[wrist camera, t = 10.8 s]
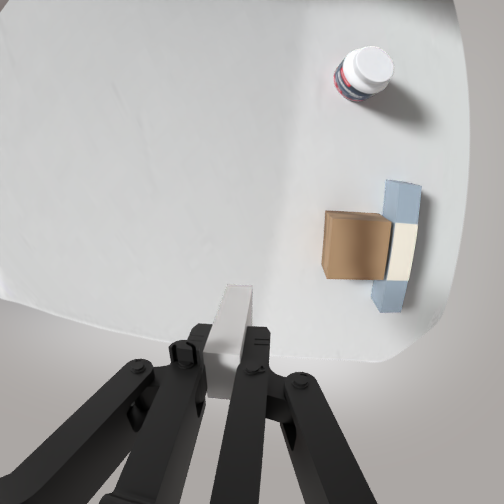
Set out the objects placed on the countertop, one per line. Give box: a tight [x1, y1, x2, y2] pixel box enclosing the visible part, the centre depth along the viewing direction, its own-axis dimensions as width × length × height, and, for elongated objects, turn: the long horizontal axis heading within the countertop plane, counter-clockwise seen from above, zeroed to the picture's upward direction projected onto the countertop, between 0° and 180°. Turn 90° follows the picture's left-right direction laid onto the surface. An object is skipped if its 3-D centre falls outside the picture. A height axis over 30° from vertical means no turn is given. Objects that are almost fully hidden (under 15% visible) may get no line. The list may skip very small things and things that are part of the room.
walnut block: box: [322, 211, 392, 280], centre depth 35 cm, size 7×7×5 cm
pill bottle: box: [333, 46, 394, 101], centre depth 27 cm, size 5×5×9 cm
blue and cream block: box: [371, 180, 422, 313], centre depth 35 cm, size 3×16×5 cm, turn 179°
